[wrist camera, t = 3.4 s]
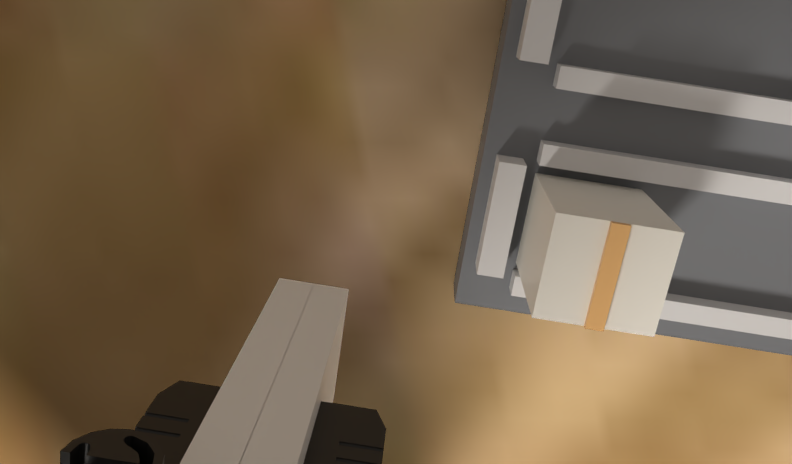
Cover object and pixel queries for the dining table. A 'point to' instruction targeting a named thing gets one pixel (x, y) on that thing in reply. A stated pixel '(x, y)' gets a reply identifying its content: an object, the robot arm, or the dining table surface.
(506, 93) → the grey compartment tray
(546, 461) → the dining table surface
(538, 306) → the white taped box
